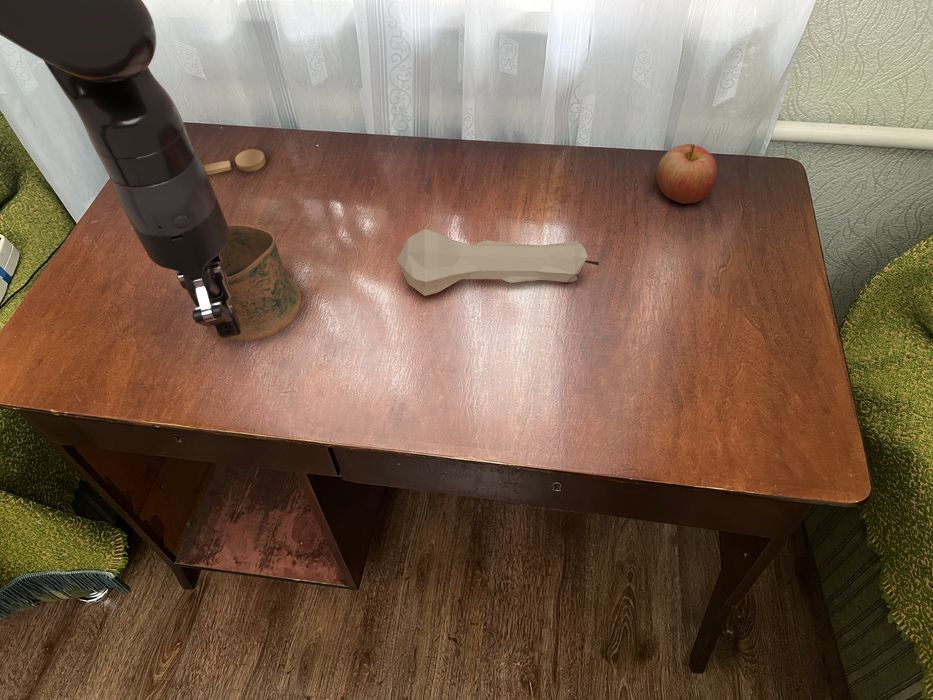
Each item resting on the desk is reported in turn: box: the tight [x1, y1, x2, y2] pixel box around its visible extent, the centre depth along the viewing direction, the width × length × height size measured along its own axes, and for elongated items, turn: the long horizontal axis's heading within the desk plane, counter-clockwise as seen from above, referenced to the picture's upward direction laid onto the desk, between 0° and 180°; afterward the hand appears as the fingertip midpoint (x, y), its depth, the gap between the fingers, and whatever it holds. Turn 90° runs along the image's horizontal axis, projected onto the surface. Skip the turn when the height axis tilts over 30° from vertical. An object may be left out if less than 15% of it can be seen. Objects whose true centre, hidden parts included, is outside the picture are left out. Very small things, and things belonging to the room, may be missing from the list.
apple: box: [655, 143, 718, 205], centre depth 95 cm, size 8×8×8 cm
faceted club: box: [396, 227, 600, 297], centre depth 86 cm, size 9×8×25 cm
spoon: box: [203, 148, 267, 176], centre depth 105 cm, size 15×4×1 cm, turn 108°
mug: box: [211, 223, 302, 342], centre depth 84 cm, size 12×18×12 cm, turn 59°
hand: (230, 331), depth 74 cm, fingers closed
